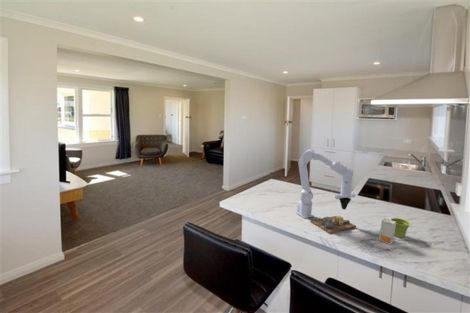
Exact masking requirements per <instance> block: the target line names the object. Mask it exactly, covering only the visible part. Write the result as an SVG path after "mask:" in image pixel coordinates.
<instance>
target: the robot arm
mask: <svg viewBox="0 0 470 313" xmlns="http://www.w3.org/2000/svg"><path fill="white" fill-rule="evenodd" d="M311 160H313V161H320V162H322V163H324V164H326V165H328V166H329V167H330V170H332V171H334V172H335V173H337V174H338V175H341V176H342V178H341V185H340V192H339V193H338V194H337V195H334V199H335V200H339V201H340V205H341V206H340V207H341V209H342V210H347V207H348V205H349V204H350V202H351V201H352V198H356V193H353V192H352V187H353V186H352V184H353V177H354V170H353V169H352V168H351V167H348V166H347V165H344V164H342V163H341V161H333V160H331V159H329V158H328V157H327V156H325V155H323V154H321V153H320V152H319V151H316V150H314V149H312V148H310V149H309V148H308V149H307V150H306V151H304V152H303V153H302V154H301V156H300V158H299V160H298V162H297V163H298V170H299V176H300V177H299V178H300V184H301V185H300V186H301V196H300V200H298V202H297V204H296V206H297V207H296V212H295V214H297V215H298V216H301V218H303V219H308V218H314V217H315V216H314V214H312V210H313V209H312V208H313V201H312V200H313V197H314V194H313V192H312V189H311V187H310V180H309V179H310V178H309V174H308V172H309V171H308V166H307V164H308V163H309V162H310V161H311Z"/></svg>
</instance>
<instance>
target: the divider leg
mask: <svg viewBox="0 0 470 313" xmlns="http://www.w3.org/2000/svg"><path fill="white" fill-rule="evenodd" d="M334 218H335V220H334V222H337V223H338V226H341V225H343V219H344V217H343V216H340V215H335V217H334Z"/></svg>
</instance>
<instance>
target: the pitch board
mask: <svg viewBox="0 0 470 313" xmlns="http://www.w3.org/2000/svg"><path fill="white" fill-rule="evenodd" d="M335 216H336V215H335ZM335 216H324V217H323V218H316V219H312V220H310V223H311V224H313V225H314V226H316V227H317V226H318V228H320V229H321V230H323V231H324V232H325V233H328V234H334V232H335V233H338V232H343V231H348V230H353V229H356V228H357V225H355V224H353V223H351V222H350V220H349V219H346V220H345V219H344V218H343V225H341V226H338V223H337V222H334V220H335V218H334V217H335Z"/></svg>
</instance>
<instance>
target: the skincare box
mask: <svg viewBox="0 0 470 313" xmlns="http://www.w3.org/2000/svg"><path fill="white" fill-rule="evenodd" d="M395 226H396V222H395V221H392V220H391V219H388V218H383V219H382V220H381V222H380V231H379V236H378V241H379V242H382V243H386V244H388V245H392V243H393V242H394V238H395V236H394V233H395Z"/></svg>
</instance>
